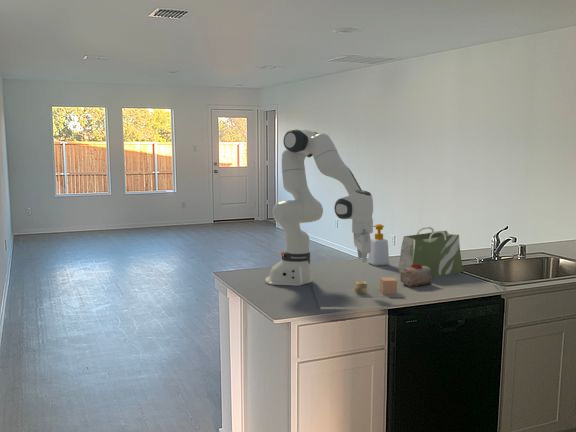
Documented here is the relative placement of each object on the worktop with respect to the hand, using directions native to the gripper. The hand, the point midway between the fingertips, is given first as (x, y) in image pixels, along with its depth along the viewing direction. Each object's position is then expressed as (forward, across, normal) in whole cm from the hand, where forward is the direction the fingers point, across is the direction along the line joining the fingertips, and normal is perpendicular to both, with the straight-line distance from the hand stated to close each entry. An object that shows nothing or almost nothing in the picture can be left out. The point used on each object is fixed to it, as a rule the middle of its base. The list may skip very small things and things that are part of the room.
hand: (362, 260), depth 239 cm
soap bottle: (+15, +64, -19) cm, 69 cm away
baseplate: (+15, 0, -6) cm, 16 cm away
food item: (+16, +18, -29) cm, 38 cm away
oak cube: (+14, 0, 0) cm, 14 cm away
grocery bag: (+15, +44, -44) cm, 64 cm away
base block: (+15, 0, -12) cm, 19 cm away
